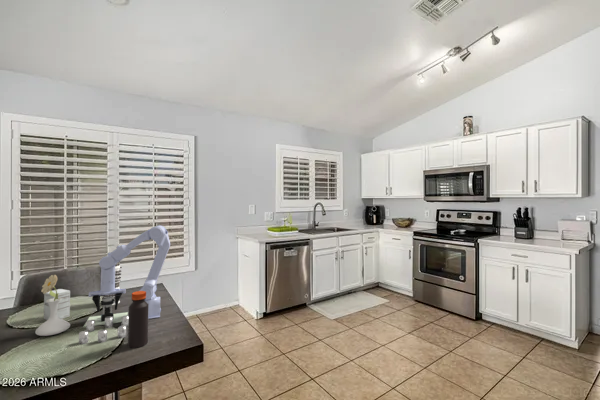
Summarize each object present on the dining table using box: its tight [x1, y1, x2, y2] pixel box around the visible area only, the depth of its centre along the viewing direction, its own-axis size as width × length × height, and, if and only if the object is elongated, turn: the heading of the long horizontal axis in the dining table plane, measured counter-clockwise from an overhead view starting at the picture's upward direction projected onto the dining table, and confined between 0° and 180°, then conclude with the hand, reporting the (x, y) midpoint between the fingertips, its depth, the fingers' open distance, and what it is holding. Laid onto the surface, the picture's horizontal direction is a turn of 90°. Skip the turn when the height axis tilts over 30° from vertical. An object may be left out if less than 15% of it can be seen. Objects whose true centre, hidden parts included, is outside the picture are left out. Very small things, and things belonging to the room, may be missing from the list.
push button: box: [97, 297, 114, 322], centre depth 137 cm, size 7×5×10 cm
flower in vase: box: [35, 274, 71, 337], centre depth 124 cm, size 13×11×25 cm
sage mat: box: [82, 311, 129, 328], centre depth 138 cm, size 16×12×1 cm
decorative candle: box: [101, 261, 122, 306], centre depth 161 cm, size 9×9×25 cm
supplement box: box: [43, 288, 71, 321], centre depth 140 cm, size 7×7×13 cm
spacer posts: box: [78, 314, 129, 345], centre depth 124 cm, size 16×18×4 cm
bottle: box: [127, 290, 149, 349], centre depth 115 cm, size 7×7×20 cm
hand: (107, 310), depth 138 cm, fingers open, 6 cm apart
